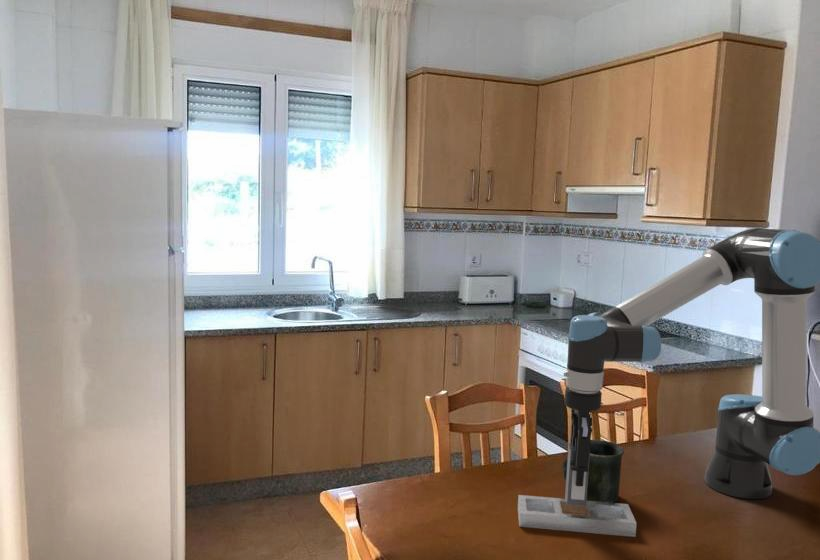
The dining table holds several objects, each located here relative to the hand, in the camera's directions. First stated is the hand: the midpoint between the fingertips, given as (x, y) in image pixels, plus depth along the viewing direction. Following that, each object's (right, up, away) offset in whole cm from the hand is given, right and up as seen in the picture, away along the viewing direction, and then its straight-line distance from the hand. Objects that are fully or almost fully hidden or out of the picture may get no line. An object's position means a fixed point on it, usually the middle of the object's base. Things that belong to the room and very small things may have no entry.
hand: (576, 493), depth 147 cm
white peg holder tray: (0, -6, +1) cm, 6 cm away
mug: (+6, -5, +14) cm, 16 cm away
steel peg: (0, -2, 0) cm, 2 cm away
